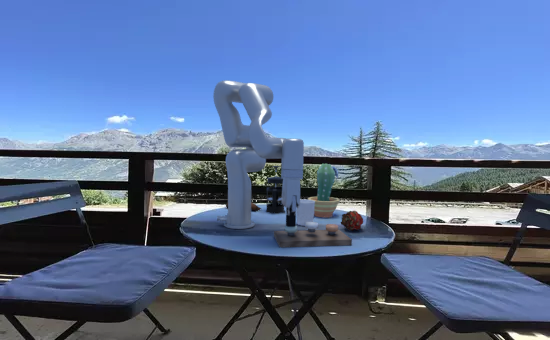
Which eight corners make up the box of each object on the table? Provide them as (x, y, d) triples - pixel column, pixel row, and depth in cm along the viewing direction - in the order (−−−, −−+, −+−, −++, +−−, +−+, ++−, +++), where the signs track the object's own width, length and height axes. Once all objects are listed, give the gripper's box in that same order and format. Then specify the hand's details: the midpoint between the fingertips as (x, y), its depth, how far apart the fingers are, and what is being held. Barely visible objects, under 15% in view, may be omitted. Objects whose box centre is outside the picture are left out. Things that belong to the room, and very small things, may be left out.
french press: (267, 208, 171) (268, 165, 169) (285, 209, 170) (286, 165, 168) (264, 213, 159) (264, 166, 157) (283, 214, 158) (284, 167, 156)
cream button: (307, 233, 114) (307, 224, 113) (304, 230, 118) (304, 221, 118) (319, 233, 114) (319, 224, 114) (315, 229, 119) (316, 221, 118)
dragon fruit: (347, 237, 127) (351, 234, 138) (366, 226, 125) (369, 223, 136) (335, 218, 129) (340, 216, 140) (353, 207, 127) (357, 206, 138)
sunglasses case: (263, 208, 171) (260, 198, 167) (258, 217, 166) (255, 207, 162) (233, 205, 178) (230, 196, 175) (227, 214, 173) (224, 204, 169)
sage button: (285, 236, 113) (286, 228, 112) (283, 233, 117) (283, 225, 117) (298, 236, 113) (298, 227, 113) (295, 232, 118) (295, 224, 117)
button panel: (279, 247, 108) (279, 241, 108) (274, 236, 121) (274, 231, 121) (351, 245, 112) (351, 239, 112) (338, 234, 125) (338, 229, 125)
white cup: (313, 227, 136) (314, 203, 135) (294, 225, 137) (295, 202, 136) (315, 222, 143) (315, 200, 142) (297, 221, 145) (297, 199, 144)
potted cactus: (340, 219, 149) (341, 165, 147) (306, 218, 152) (307, 164, 149) (339, 212, 164) (340, 163, 162) (308, 211, 167) (309, 162, 165)
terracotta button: (327, 235, 115) (328, 227, 115) (324, 232, 119) (324, 224, 119) (339, 235, 116) (340, 227, 115) (335, 231, 120) (335, 223, 120)
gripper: (277, 172, 120) (276, 221, 122) (285, 176, 105) (283, 232, 107) (297, 172, 121) (296, 220, 123) (307, 176, 107) (306, 231, 108)
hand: (290, 225), depth 115 cm, fingers closed
